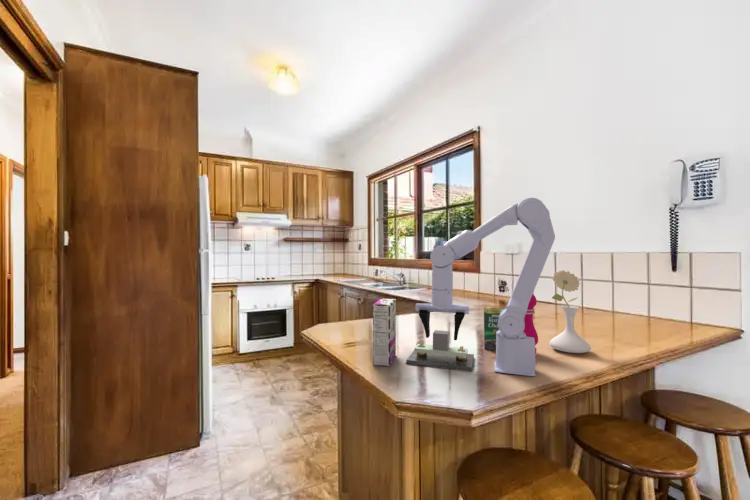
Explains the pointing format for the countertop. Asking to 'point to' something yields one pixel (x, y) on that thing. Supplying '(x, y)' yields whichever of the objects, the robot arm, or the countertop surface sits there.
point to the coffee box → (491, 327)
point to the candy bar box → (384, 332)
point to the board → (451, 351)
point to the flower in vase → (568, 317)
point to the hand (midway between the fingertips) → (441, 338)
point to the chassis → (441, 360)
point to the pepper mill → (530, 321)
